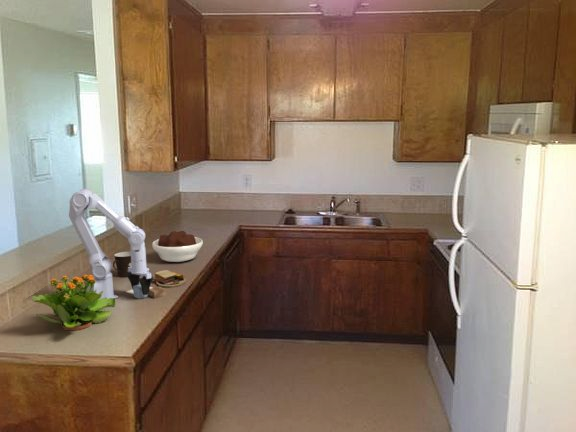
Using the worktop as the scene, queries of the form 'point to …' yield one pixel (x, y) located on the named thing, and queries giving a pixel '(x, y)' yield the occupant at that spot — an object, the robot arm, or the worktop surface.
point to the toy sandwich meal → (169, 278)
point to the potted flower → (76, 303)
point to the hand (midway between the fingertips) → (140, 292)
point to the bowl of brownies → (177, 246)
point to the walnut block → (157, 292)
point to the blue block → (138, 292)
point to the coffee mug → (122, 263)
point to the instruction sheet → (132, 291)
